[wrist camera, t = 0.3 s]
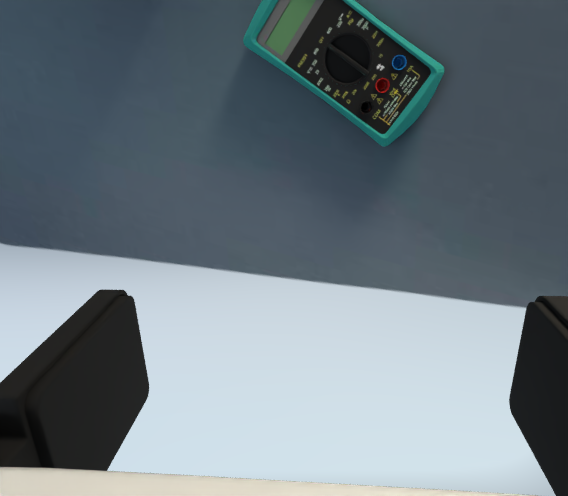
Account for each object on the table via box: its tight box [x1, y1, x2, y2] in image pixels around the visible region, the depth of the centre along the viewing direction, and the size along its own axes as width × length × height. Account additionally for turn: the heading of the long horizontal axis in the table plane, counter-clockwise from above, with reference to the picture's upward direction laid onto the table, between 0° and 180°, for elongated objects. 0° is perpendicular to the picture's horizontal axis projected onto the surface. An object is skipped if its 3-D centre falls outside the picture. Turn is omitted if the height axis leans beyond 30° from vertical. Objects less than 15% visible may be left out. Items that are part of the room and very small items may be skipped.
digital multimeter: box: [243, 0, 444, 146], centre depth 35 cm, size 7×15×3 cm, turn 56°
